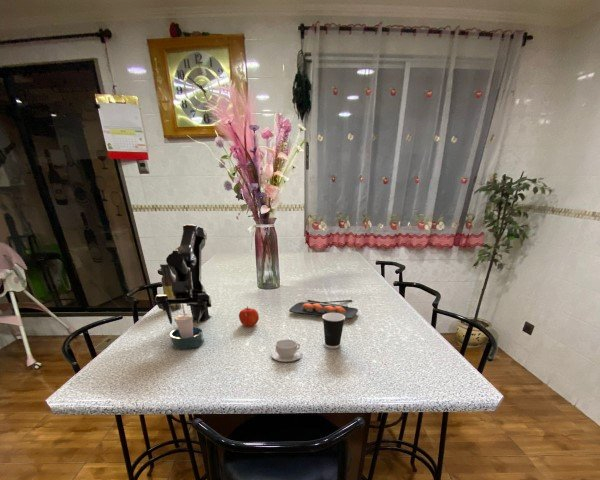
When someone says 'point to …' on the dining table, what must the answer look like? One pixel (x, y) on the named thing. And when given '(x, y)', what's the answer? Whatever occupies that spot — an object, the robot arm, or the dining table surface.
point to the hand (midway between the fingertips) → (184, 323)
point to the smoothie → (184, 324)
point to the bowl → (187, 339)
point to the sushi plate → (323, 309)
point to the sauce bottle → (168, 283)
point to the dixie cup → (333, 329)
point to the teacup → (286, 350)
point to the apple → (248, 317)
